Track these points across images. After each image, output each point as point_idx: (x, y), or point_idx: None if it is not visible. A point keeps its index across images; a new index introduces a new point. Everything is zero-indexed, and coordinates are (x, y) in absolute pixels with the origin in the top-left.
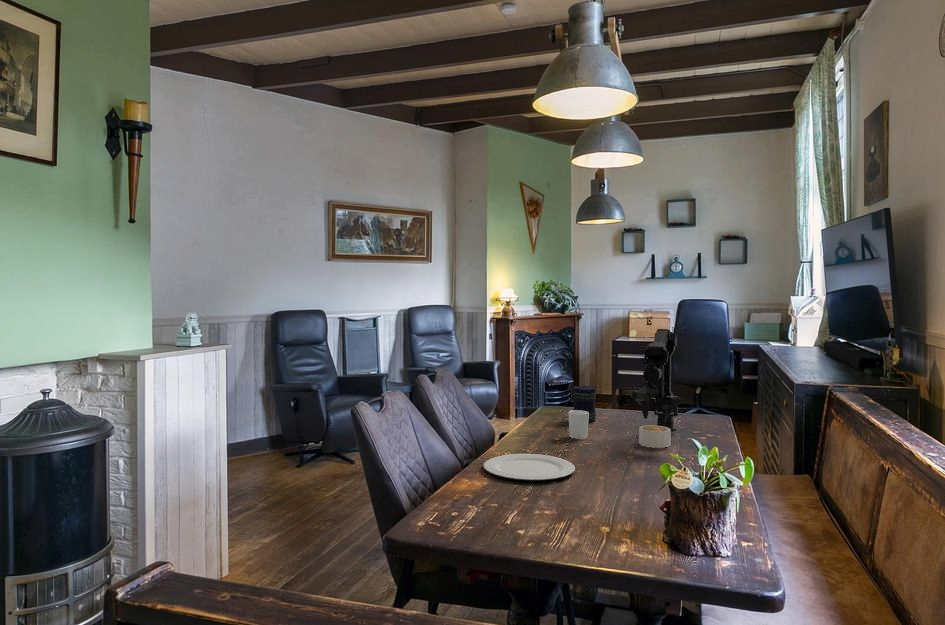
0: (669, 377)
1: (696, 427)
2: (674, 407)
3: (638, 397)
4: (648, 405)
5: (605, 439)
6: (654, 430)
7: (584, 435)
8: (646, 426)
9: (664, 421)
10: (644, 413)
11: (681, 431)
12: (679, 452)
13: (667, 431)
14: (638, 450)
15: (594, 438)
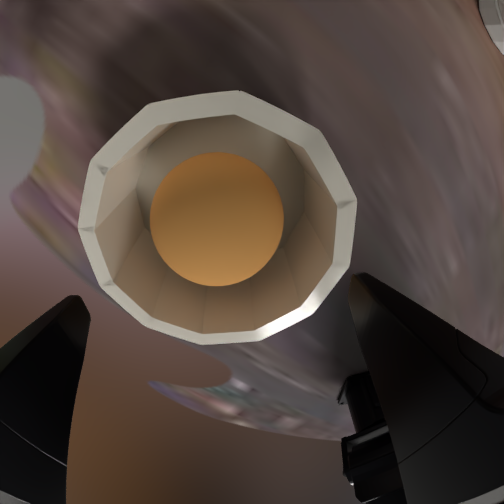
0: None
1: (318, 433)
2: (346, 468)
3: None
4: (402, 451)
5: (449, 60)
6: (172, 204)
7: (489, 8)
8: (331, 253)
9: (61, 305)
10: (387, 310)
11: (319, 404)
12: (42, 197)
13: (92, 264)
14: (155, 5)
15: (476, 46)
